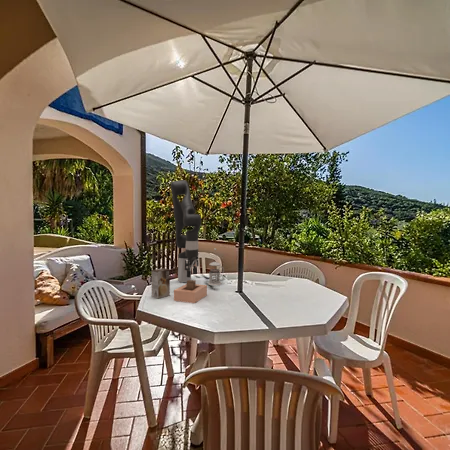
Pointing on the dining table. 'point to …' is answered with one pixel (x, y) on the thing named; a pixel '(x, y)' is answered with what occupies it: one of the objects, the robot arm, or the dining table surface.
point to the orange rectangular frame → (190, 293)
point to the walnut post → (191, 285)
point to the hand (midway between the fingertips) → (191, 275)
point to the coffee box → (160, 283)
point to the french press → (215, 271)
